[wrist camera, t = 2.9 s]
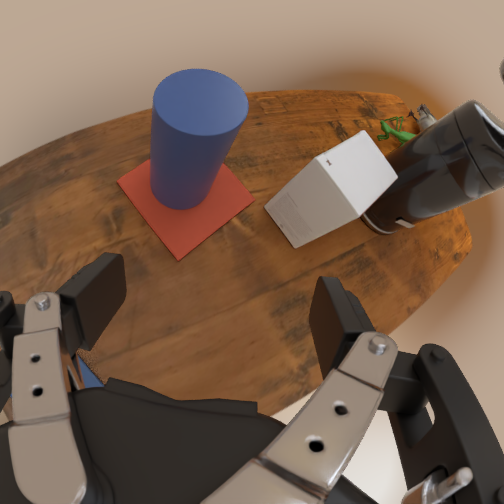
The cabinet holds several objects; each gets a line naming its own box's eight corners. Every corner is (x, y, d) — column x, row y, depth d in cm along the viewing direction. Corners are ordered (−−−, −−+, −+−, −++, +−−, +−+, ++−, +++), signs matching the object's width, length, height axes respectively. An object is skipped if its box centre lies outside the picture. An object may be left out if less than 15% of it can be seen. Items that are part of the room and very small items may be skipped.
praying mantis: (354, 116, 38) (370, 100, 34) (408, 124, 43) (422, 112, 39) (378, 166, 37) (397, 153, 33) (428, 166, 42) (445, 156, 37)
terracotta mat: (195, 133, 28) (195, 131, 27) (254, 201, 28) (255, 199, 28) (116, 182, 24) (116, 180, 24) (178, 261, 25) (178, 260, 24)
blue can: (186, 146, 27) (210, 59, 16) (222, 187, 27) (267, 112, 16) (138, 176, 24) (135, 89, 13) (174, 222, 25) (191, 152, 14)
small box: (293, 250, 29) (359, 219, 19) (261, 206, 29) (313, 156, 19) (337, 213, 32) (400, 177, 22) (310, 174, 32) (365, 128, 22)
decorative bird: (461, 179, 39) (465, 169, 43) (423, 102, 37) (430, 99, 41) (439, 187, 44) (445, 176, 47) (402, 113, 42) (411, 109, 45)
